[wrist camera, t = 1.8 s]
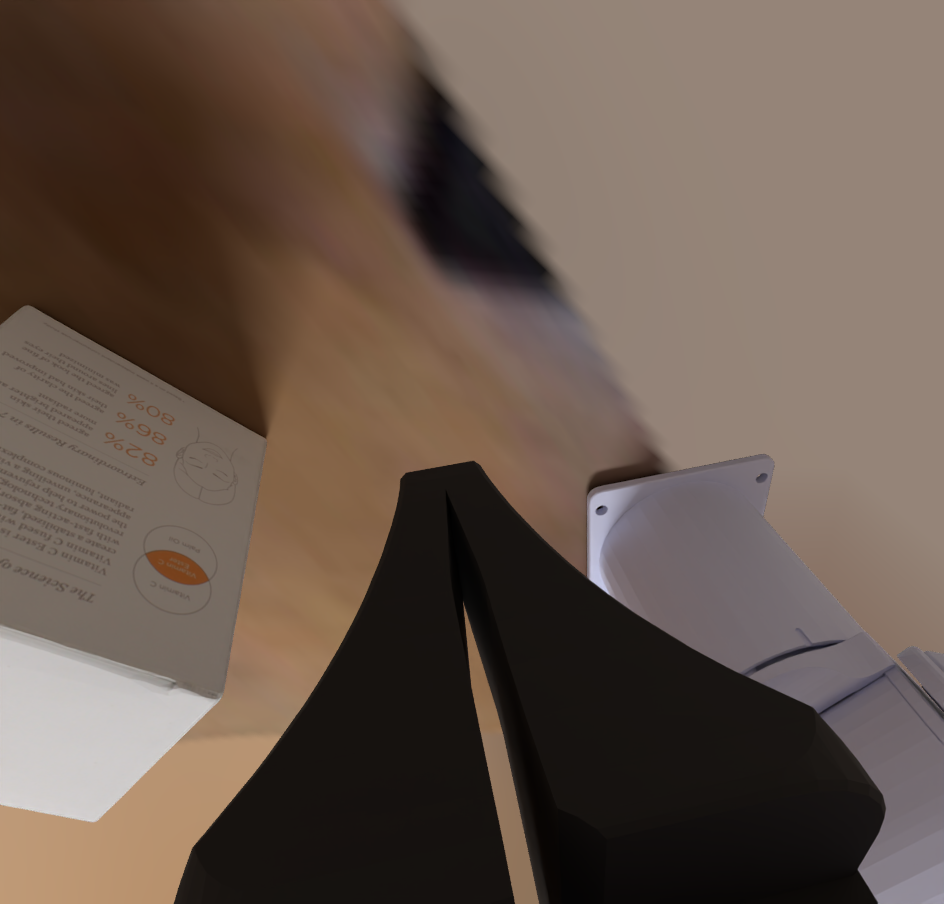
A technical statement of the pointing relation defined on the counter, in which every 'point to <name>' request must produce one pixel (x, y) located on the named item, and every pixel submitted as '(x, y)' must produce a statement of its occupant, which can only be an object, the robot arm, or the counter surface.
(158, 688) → the small box
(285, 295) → the counter surface
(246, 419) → the counter surface
